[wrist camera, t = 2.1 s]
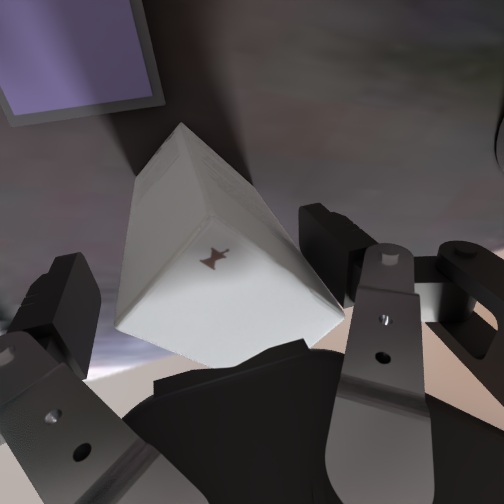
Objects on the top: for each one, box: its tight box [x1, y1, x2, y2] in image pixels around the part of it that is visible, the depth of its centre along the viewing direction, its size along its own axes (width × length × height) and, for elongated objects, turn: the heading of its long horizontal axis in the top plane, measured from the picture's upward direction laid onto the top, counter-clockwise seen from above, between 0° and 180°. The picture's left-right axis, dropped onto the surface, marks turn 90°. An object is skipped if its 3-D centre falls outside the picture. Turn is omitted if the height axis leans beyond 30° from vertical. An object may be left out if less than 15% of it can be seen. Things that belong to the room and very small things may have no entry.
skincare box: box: [114, 123, 345, 368], centre depth 14 cm, size 6×4×12 cm
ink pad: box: [0, 0, 166, 128], centre depth 13 cm, size 7×7×1 cm
